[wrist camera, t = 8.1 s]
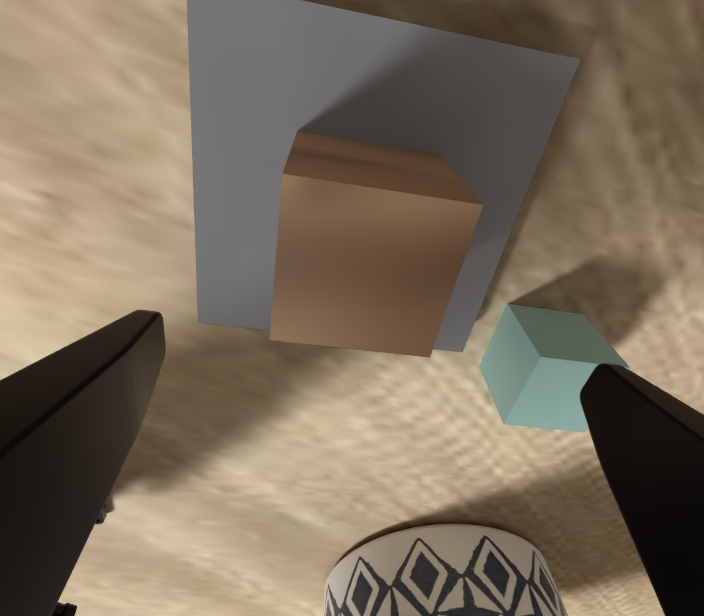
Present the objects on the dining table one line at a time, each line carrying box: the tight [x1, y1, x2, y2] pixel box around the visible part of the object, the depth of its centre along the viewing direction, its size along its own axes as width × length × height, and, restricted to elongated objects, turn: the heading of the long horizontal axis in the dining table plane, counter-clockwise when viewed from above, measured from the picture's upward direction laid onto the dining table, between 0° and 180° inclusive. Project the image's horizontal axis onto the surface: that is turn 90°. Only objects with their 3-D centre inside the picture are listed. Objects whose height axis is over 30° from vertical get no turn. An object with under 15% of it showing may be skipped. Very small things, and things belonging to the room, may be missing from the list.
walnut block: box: [269, 131, 483, 357], centre depth 14 cm, size 5×5×5 cm
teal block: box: [479, 304, 630, 432], centre depth 20 cm, size 4×4×4 cm
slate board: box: [187, 0, 581, 352], centre depth 16 cm, size 12×12×2 cm
